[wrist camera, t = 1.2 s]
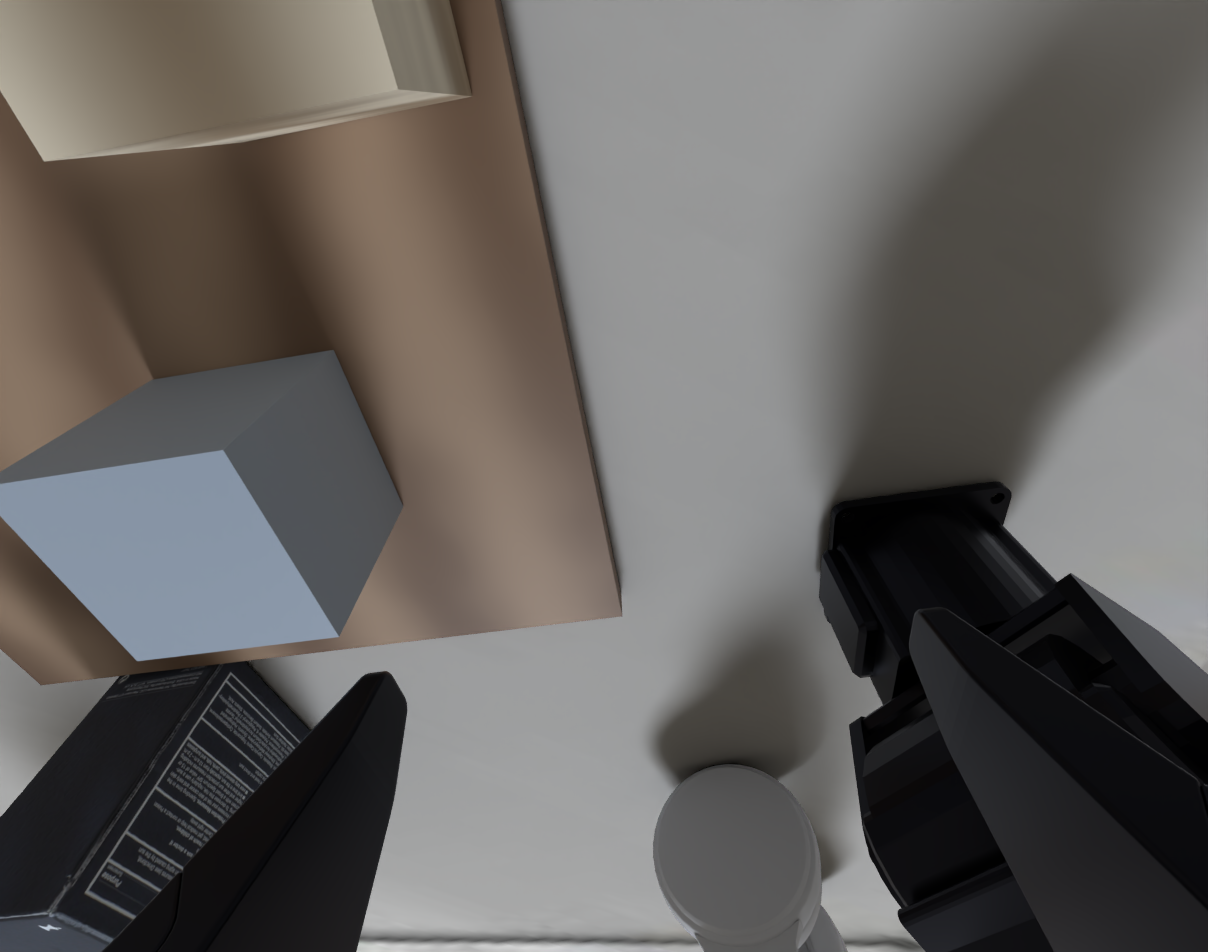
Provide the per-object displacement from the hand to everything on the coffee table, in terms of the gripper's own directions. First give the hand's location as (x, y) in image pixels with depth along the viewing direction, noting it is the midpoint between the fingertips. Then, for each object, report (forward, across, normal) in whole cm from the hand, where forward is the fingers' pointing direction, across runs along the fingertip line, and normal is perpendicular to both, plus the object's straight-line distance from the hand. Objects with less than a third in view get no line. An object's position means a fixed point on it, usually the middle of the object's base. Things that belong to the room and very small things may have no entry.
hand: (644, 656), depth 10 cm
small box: (+12, +23, +15) cm, 30 cm away
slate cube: (+10, +12, 0) cm, 15 cm away
